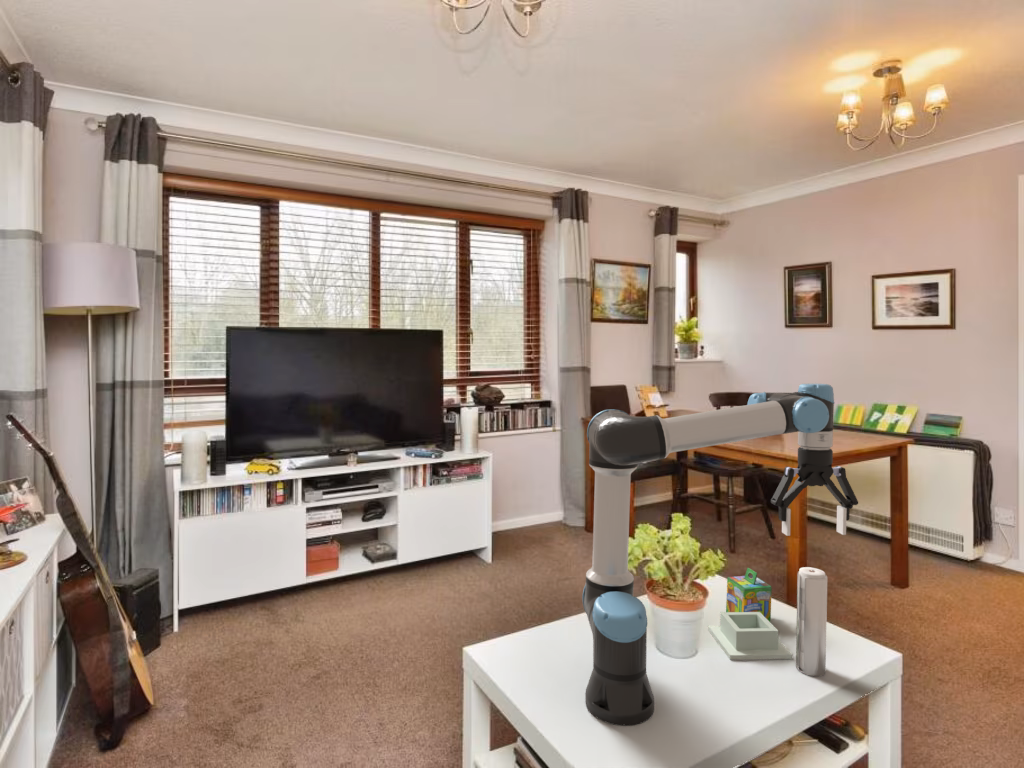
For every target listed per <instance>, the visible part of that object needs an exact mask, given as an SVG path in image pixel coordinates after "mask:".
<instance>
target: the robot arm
mask: <svg viewBox="0 0 1024 768" xmlns="http://www.w3.org/2000/svg"><path fill="white" fill-rule="evenodd" d="M834 406H835V395H834V387H833V386H832V385H830V384H827V383H801V384H799V386H798V390H797V391H794V392H765V391H763V392H755V393H752V394H750V396H749V398H748V401H747V404H746V405H744V404H743V405H739V406H734V407H728V408H723V409H721V408H720V409H715V410H709V411H703V412H697V413H691V414H684V415H679V416H673V417H667V418H662V417H660V416H659V415H656V414H655V415H649V416H634V415H630V414H629V413H627V412H626V411H624V410H620V409H604V410H602V411H600V412H598V413H596V414H595V415H593V417H592V418H591V420H589V423H588V426H587V430H586V438H587V441H588V443H589V451H588V453H589V454H588V456H589V457H588V458H589V460H588V465H589V467H590V468H591V469H592V470H593V471H594V492H593V493H594V495H593V497H594V500H593V526H592V527H593V531H592V533H593V535H592V566H591V567H590V568H589V569H588V570H587V571H586V573H585V584H584V587H583V591H582V595H581V596H582V599H581V600H582V606H583V609H584V612H585V614H586V617H587V621H588V623H589V626H590V631H591V632H592V638H593V639H592V640H593V643H592V645H593V646H592V647H593V649H592V650H593V651H592V652H593V653H592V657H593V658H592V660H593V664H592V665H593V666H592V667H593V668H592V671H591V674H590V677H589V680H588V683H587V685H586V689H585V693H584V695H585V699H584V700H585V706H586V708H587V710H588V711H589V713H590V714H591V715H593V716H594V717H596V719H598V720H599V721H600V720H601V721H602V722H605V723H607V724H610V725H615V726H625V727H626V726H635V725H640V724H642V723H644V722H646V721H648V720H649V719H650V718H651V717H652V716H653V715H654V711H655V696H654V692H653V690H652V687H651V683H650V681H649V677H648V673H647V642H648V641H647V640H648V639H647V637H648V636H647V634H648V633H647V632H648V631H647V629H648V616H647V609H646V607H645V605H644V603H643V601H641V600H640V599H639V597H637V596H634V584H635V583H634V581H635V579H634V578H635V576H634V575H633V574H632V573H631V572H630V571H629V569H628V568H629V539H630V538H629V537H630V536H629V535H630V507H631V506H630V504H631V475H632V473H633V472H634V471H635V470H637V468H638V464H642V463H646V462H652V461H653V462H654V461H657V460H664V459H666V458H667V457H668V456H669V454H671V453H677V452H683V451H688V450H694V449H700V448H707V447H713V446H718V445H725V444H730V443H736V442H741V441H749V440H754V439H760V438H766V437H771V436H772V437H773V436H778V435H784V434H791V433H792V434H793V433H797V445H799V447H798V448H797V467H796V468H794V467H790V466H785V467H784V470H783V476H782V477H781V479H780V482H779V484H778V486H777V488H776V490H775V491H774V493H773V495H772V497H771V499H770V503H771V504H772V505H774V506H776V507H778V520H779V521H781V533H782V534H784V535H785V536H787V537H788V536H789V537H790V536H791V514H792V513H791V512H792V510H791V508H789V506H790V505H791V504H792V503H793V502H794V500H795V499H796V498H797V497H798V496H799V494H800V493H801V492H802V491H803V490H805V488H807V487H816V486H818V487H826V489H827V490H828V492H830V493H831V495H832V496H833V498H835V500H836V502H837V501H838V503H839V504H840V505H836V533H838V534H840V535H842V536H847V521H850V509H853V508H854V506H858V505H859V500H858V498H857V496H856V494H855V492H854V490H853V488H852V486H851V484H850V482H849V480H848V478H847V474H846V473H847V471H846V468H845V467H843V466H840V465H836V466H834V467H832V465H833V461H834V459H833V458H834V455H833V454H834V452H833V445H834V444H833V441H834V439H833V438H834V413H835V412H834V408H835V407H834ZM833 475H834V476H835V477H836V480H837V482H838V484H839V486H840V488H841V490H839V488H838V487H837V486H836V485H835V482H834V481H833V480H832V479H831V477H832V476H833ZM796 476H798V477H797V479H795V481H794V483H793V485H792V486H791V484H792V481H793V479H794V478H795V477H796ZM841 491H842V492H843V493H842V492H841Z"/></svg>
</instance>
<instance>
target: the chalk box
mask: <svg viewBox="0 0 1024 768" xmlns="http://www.w3.org/2000/svg"><path fill="white" fill-rule="evenodd" d="M750 574H751V575H750ZM726 578H727V579H726V581H727V582H726V602H725V603H726V605H725V608H726V609H725V612H760V613H761V614H762V615H763V616H764V617H765V618H766V619H767V620H768V621H769V622H770V623H771V620H772V619H771V617H772V615H771V614H772V591H773V587H772V585H770V584H768V583H767V582H766V581H764V580H763V579H761V578H760V577H758V572H757V571H754V570H753V569H751V568H749V567H747V568H746V571H745V574H744V575H740V576H728V577H726ZM771 624H772V623H771Z"/></svg>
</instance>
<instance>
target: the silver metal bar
mask: <svg viewBox="0 0 1024 768" xmlns="http://www.w3.org/2000/svg"><path fill="white" fill-rule="evenodd" d="M796 582H797V584H796V585H797V586H796V587H797V589H796V594H797V595H796V633H795V634H796V638H795V639H796V640H795V641H796V644H795V649H796V650H795V667H796V669H797V671H798V672H800V673H802V674H803V675H807V676H810V677H822V676H824V675H826V661H827V660H826V659H827V657H826V656H827V621H828V620H827V617H828V613H827V612H828V576H827V574H826V572H825V571H824V570H822V569H819V568H816V567H810V566H805V567H804V566H802V567H800V568H799V571H797V581H796Z"/></svg>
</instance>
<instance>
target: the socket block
mask: <svg viewBox="0 0 1024 768" xmlns="http://www.w3.org/2000/svg"><path fill="white" fill-rule="evenodd" d="M719 614H720V615H719V616H720V619H719V620H720V622H719V623H720V624H719V625H708V626H707V631H708V632H709V633H710V635H711V636H712V637H713V639H714V640H715V642H716V643H717V644H718V645H719V647H720V648H721V649H722V651H723V653H724V654H725V655H726V656H727V658H728V659H729V660H730V661H735V660H736V661H737V660H738V661H746V660H747V661H749V660H752V661H753V660H793V654H792V652H791V651H790V650H789V649H788V648H787V647H786V646H785V645H784V644H783V643H782V642H781V641H780V640H779V630H778V629H777V628H776V627H775V626H774V625H773V624H772V623H770V622H769V621H768V620H767V619H766V618H765V617H764V616H763V615H762V614H761V613H760V612H726V611H724V612H723V611H722V612H721V611H720V613H719Z"/></svg>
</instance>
